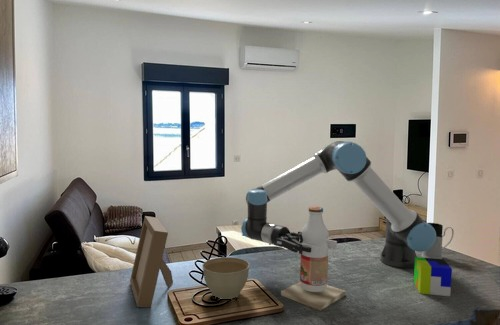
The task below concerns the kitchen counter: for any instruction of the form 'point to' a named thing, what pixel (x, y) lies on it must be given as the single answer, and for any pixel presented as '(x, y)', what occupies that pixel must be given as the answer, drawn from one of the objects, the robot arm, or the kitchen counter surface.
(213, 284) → the planter bowl
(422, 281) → the puzzle toy
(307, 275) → the fruit juice
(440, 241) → the grey pitcher
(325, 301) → the birch board
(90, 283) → the kitchen counter surface
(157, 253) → the photo frame
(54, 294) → the kitchen counter surface
